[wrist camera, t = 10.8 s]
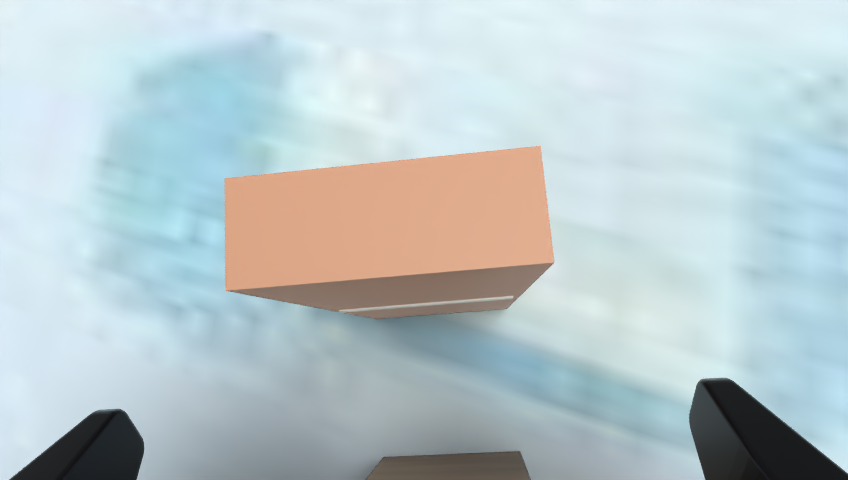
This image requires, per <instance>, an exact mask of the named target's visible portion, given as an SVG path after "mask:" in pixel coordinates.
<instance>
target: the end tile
mask: <svg viewBox="0 0 848 480" xmlns="http://www.w3.org/2000/svg"><path fill="white" fill-rule="evenodd" d="M553 263H554V256H553V247H552V239H551V230H550V222H549V214H548V205H547V197H546V188H545V180H544V172H543V163H542V155H541V146H535V147H526V148H516V149H506V150H497V151H487V152H477V153H467V154H458V155H448V156H438V157H428V158H419V159H409V160H399V161H390V162H380V163H370V164H360V165H351V166H341V167H331V168H321V169H312V170H302V171H292V172H283V173H273V174H263V175H253V176H244V177H234V178H225V279H226V291H230V292H235V293H240V294H246V295H251V296H256V297H262V298H267V299H272V300H278V301H283V302H289V303H294V304H299V305H305V306H310V307H315V308H321V309H326V310H331V311H337V312H342V313H347V314H353V315H358V316H363V317H369V318H374V319H384V318H397V317H409V316H422V315H434V314H447V313H459V312H472V311H485V310H497V309H507V308H508V307H509V306H510V305H511V304H512V303H513V302H514V301H515V300H516V299H517V298H518V297H519V296H521V295H522V294H523V293H524V292H525V291H526V290H527V289H528V288H529V287H530V286H531V285H532V284H533V283H534V282H535V281H536V280H537V279H538V278H539V277H540V276H541V275H542V274H543V273H544V272H545V271H546V270H547V269H548V268H549V267H550V266H551V265H552V264H553Z"/></svg>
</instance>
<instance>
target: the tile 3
mask: <svg viewBox="0 0 848 480" xmlns="http://www.w3.org/2000/svg"><path fill="white" fill-rule="evenodd" d="M366 480H531V479H530V477H529V474H528V471H527V469H526V466H525V463H524V461H523V458H522V455H521V453H520V451H516V452H493V453H469V454H446V455H422V456H398V457H383V459H382V460H381V461H380V462H379V464H378V465H377V466H376V468H375V469H374V470H373V471H372V473H371V474H370V475H369V476H368V478H367V479H366Z"/></svg>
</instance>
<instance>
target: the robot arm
mask: <svg viewBox="0 0 848 480" xmlns="http://www.w3.org/2000/svg"><path fill="white" fill-rule="evenodd" d="M689 423H690V429H691V432H692V436H693V439H694V443H695V446H696V449H697V453H698V456H699V460H700V463H701V466H702V470H703V473H704V477H705V480H848V473H846V472H845V471H844V470H843V469H842V468H840V467H839V466H838V465H837V464H835V463H834V462H833V461H832V460H830V459H829V458H828V457H827V456H825V455H824V454H823V453H822V452H820V451H819V450H818V449H817V448H816V447H814V446H813V445H812V444H811V443H809V442H808V441H807V440H806V439H804V438H803V437H802V436H801V435H799V434H798V433H797V432H796V431H795V430H793V429H792V428H791V427H790V426H788V425H787V424H786V423H785V422H783V421H782V420H781V419H780V418H778V417H777V416H776V415H775V414H774V413H772V412H771V411H770V410H769V409H767V408H766V407H765V406H764V405H762V404H761V403H760V402H759V401H757V400H756V399H755V398H754V397H752V396H751V395H750V394H749V393H748V392H746V391H745V390H744V389H743V388H741V387H740V386H739V385H738V384H736V383H735V382H734V381H732V380H730V379H728V378H709V379H701V380H700V381H699V382H698V383H697V386H696V390H695V394H694V398H693V402H692V406H691V410H690V414H689ZM143 454H144V442H143V439H142V437H141V435H140V434H139V432H138V430H137V429H136V427H135V426H134V424H133V423H132V421H131V419H130V418H129V416H128V415H127V413H126V412H125V411H123V410H121V409H107V410H98V411H95V412H93V413H92V414H90V415H89V416H88V417H86V418H85V419H84V420H83V421H81V422H80V423H79V424H78V425H76V426H75V427H74V428H73V429H71V430H70V431H69V432H68V433H67V434H65V435H64V436H63V437H62V438H60V439H59V440H58V441H57V442H55V443H54V444H53V445H52V446H50V447H49V448H48V449H47V450H45V451H44V452H43V453H42V454H41V455H39V456H38V457H37V458H36V459H34V460H33V461H32V462H31V463H29V464H28V465H27V466H26V467H24V468H23V469H22V470H21V471H19V472H18V473H17V474H16V475H15V476H13V477H12V478H11V479H10V480H137V476H138V472H139V469H140V465H141V462H142V458H143Z"/></svg>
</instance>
